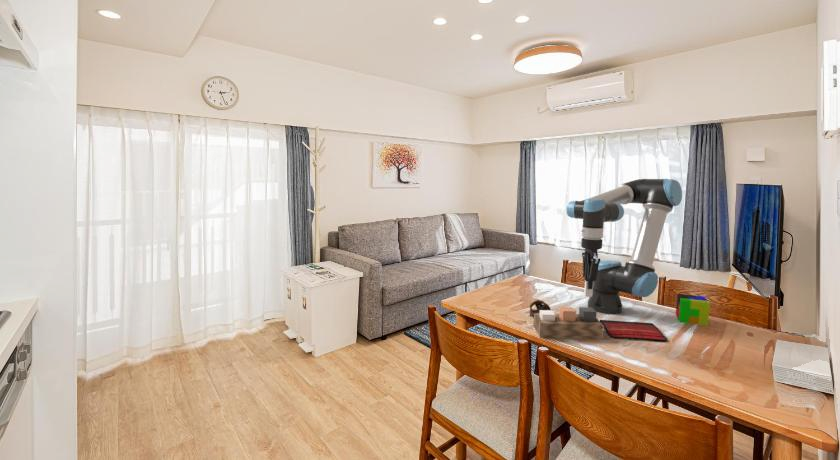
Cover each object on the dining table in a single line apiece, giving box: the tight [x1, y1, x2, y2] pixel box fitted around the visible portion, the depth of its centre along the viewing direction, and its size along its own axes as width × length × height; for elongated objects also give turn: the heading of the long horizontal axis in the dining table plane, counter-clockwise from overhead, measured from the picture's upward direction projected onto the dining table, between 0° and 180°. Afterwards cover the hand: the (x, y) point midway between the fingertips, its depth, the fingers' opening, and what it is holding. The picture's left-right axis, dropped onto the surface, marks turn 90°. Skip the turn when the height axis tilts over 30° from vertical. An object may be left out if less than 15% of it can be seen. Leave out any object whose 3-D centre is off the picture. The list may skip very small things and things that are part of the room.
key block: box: [533, 312, 604, 340], centre depth 156 cm, size 24×11×6 cm, turn 86°
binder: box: [599, 319, 668, 343], centre depth 156 cm, size 16×2×21 cm
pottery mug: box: [529, 299, 551, 317], centre depth 175 cm, size 12×10×8 cm
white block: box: [539, 310, 556, 321], centre depth 156 cm, size 5×5×6 cm
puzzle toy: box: [675, 293, 711, 327], centre depth 168 cm, size 10×10×10 cm
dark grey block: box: [578, 306, 598, 322], centre depth 154 cm, size 5×5×6 cm
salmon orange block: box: [558, 306, 577, 321], centre depth 155 cm, size 5×5×6 cm
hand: (588, 296), depth 153 cm, fingers closed
